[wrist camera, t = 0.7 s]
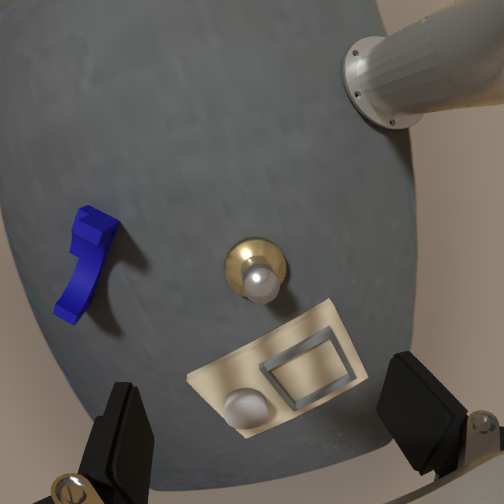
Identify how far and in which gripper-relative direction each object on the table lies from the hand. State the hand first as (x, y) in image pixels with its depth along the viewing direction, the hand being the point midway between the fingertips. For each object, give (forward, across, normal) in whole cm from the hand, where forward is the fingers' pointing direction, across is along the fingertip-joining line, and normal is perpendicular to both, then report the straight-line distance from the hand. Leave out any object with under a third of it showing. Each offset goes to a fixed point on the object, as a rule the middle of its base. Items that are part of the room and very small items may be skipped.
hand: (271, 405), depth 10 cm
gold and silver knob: (+26, -3, +3) cm, 26 cm away
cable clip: (+27, +17, +1) cm, 32 cm away
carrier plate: (+26, -7, +21) cm, 34 cm away
